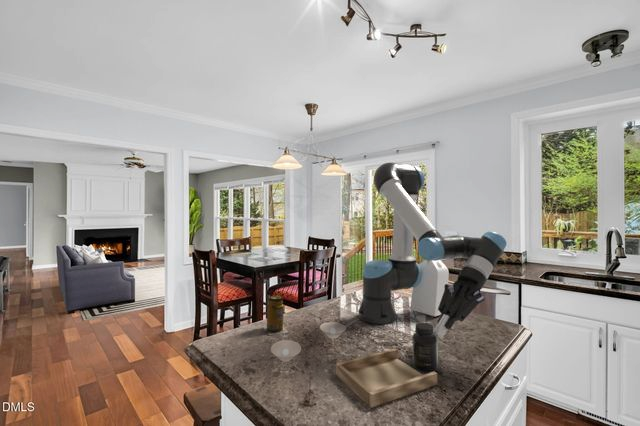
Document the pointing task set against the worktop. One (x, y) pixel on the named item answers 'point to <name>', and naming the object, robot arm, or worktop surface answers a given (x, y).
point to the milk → (430, 287)
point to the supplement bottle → (425, 348)
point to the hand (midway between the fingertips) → (437, 335)
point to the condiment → (275, 316)
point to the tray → (382, 377)
